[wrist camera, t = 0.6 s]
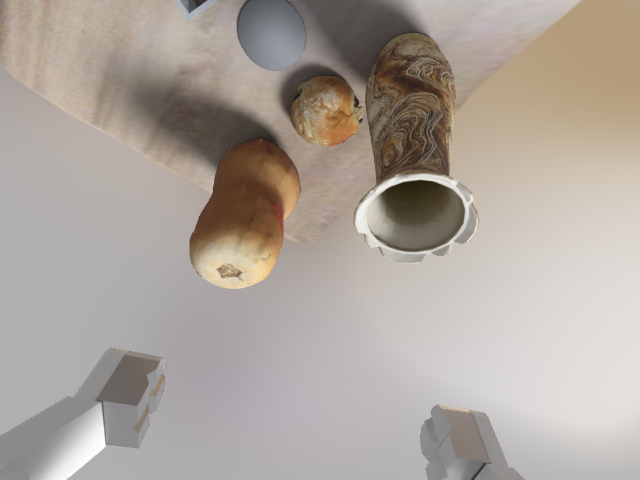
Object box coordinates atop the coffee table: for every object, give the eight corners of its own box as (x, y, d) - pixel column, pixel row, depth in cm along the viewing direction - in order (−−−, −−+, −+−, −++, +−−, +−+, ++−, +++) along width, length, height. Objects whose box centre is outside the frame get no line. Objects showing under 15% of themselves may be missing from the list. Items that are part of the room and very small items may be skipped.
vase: (464, 65, 49) (521, 219, 28) (403, 122, 55) (413, 280, 34) (409, 7, 45) (427, 136, 24) (350, 76, 51) (325, 223, 31)
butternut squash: (309, 193, 67) (282, 309, 50) (238, 192, 69) (188, 304, 52) (300, 122, 57) (262, 236, 40) (218, 124, 59) (148, 232, 42)
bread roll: (324, 56, 54) (292, 65, 48) (380, 97, 52) (355, 111, 47) (300, 114, 60) (271, 128, 55) (350, 151, 59) (325, 169, 53)
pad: (281, -21, 44) (281, -21, 44) (318, 51, 50) (317, 52, 49) (224, 17, 48) (224, 18, 48) (263, 80, 53) (263, 81, 53)
